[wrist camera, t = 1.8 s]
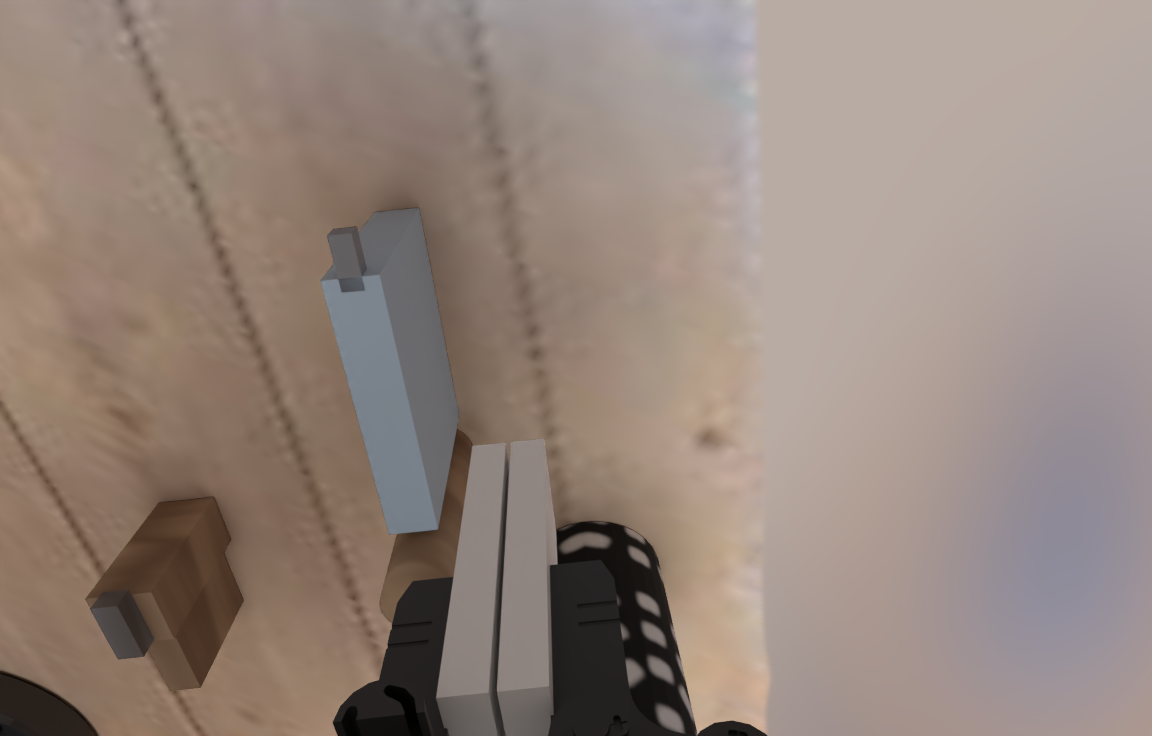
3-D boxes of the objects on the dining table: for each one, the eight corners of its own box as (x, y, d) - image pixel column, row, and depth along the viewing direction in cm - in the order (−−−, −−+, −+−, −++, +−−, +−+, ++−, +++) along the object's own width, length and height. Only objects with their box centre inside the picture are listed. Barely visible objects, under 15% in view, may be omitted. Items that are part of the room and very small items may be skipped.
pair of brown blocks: (204, 604, 42) (103, 787, 32) (138, 458, 37) (-5, 621, 27) (496, 574, 42) (484, 747, 32) (468, 424, 37) (444, 574, 27)
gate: (459, 415, 37) (437, 529, 29) (421, 419, 37) (389, 534, 29) (412, 174, 31) (369, 231, 23) (367, 178, 31) (308, 237, 23)
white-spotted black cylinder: (494, 588, 42) (465, 1010, 24) (579, 498, 39) (615, 898, 22) (601, 643, 45) (646, 1061, 27) (688, 562, 42) (800, 967, 24)
